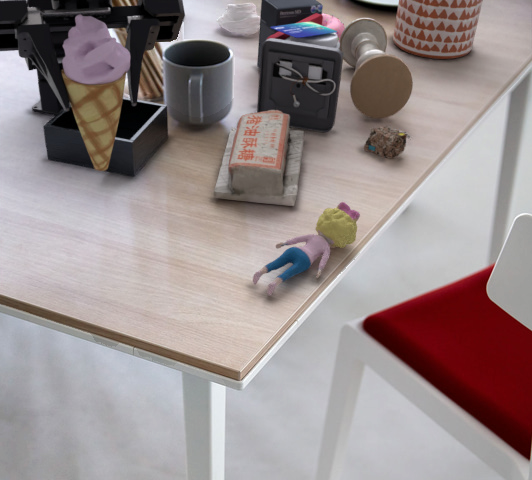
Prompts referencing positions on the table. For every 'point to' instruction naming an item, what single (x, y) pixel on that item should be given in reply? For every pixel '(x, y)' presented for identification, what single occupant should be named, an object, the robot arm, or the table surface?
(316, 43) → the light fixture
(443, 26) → the vase
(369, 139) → the rock
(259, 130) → the packaged product
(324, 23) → the doughnut
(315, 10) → the box
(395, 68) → the candle holder
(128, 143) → the open black storage bin
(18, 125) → the table surface
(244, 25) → the whipped cream
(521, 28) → the table surface
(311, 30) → the credit card
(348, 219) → the figurine
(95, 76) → the ice cream cone
